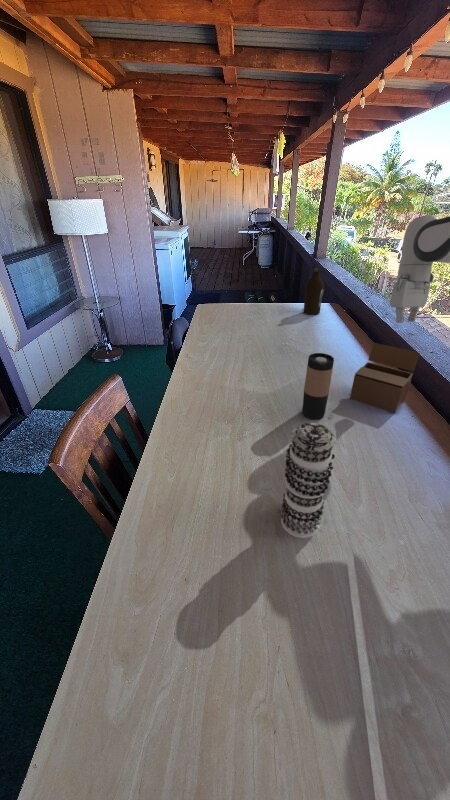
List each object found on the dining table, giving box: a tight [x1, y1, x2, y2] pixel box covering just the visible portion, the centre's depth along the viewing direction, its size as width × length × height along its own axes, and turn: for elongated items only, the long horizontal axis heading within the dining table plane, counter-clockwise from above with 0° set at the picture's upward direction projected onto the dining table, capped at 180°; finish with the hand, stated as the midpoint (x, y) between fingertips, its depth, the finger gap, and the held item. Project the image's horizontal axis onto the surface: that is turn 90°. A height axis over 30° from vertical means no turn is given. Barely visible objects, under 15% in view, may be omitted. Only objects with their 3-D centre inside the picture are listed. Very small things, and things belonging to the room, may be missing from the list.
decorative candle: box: [280, 422, 337, 539], centre depth 71 cm, size 9×9×25 cm
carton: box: [349, 361, 414, 414], centre depth 118 cm, size 15×13×11 cm
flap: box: [367, 342, 421, 373], centre depth 119 cm, size 15×6×1 cm
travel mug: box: [301, 352, 335, 421], centre depth 109 cm, size 8×8×20 cm
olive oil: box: [303, 267, 325, 316], centre depth 202 cm, size 11×11×25 cm
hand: (405, 322), depth 111 cm, fingers open, 8 cm apart
